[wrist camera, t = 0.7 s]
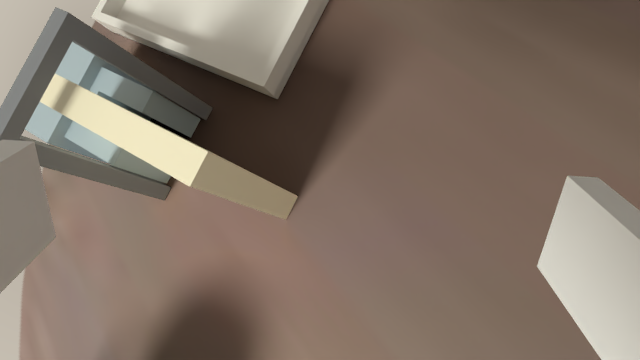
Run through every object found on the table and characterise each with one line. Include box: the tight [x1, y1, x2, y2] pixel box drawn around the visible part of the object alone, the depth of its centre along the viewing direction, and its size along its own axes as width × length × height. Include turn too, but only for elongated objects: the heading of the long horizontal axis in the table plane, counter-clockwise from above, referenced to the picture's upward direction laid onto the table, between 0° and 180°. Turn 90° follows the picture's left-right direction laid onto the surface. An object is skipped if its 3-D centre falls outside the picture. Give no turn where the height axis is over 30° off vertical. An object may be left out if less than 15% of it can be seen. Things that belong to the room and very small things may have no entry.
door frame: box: [0, 8, 213, 200], centre depth 34 cm, size 9×12×14 cm
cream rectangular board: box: [40, 74, 298, 220], centre depth 31 cm, size 2×15×12 cm, turn 61°
